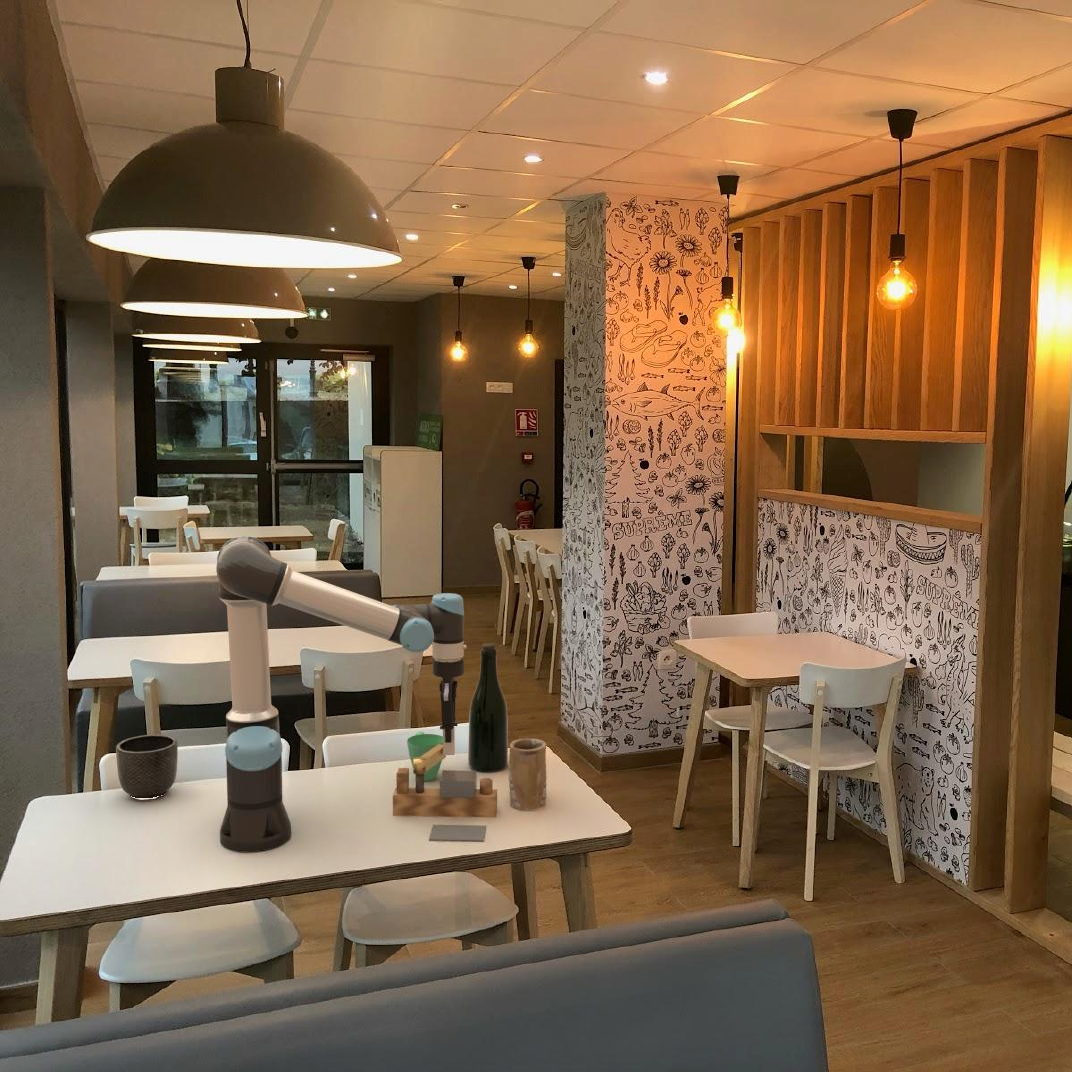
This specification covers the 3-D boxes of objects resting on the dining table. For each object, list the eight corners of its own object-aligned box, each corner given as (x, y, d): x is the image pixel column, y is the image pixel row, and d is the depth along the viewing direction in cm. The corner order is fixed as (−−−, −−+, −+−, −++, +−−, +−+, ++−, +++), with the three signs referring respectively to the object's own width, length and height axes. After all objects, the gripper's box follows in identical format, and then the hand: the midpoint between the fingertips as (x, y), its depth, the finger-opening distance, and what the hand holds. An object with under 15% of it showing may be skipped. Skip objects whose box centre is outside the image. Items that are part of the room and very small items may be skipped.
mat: (428, 840, 226) (428, 839, 226) (433, 826, 234) (433, 824, 234) (483, 841, 226) (483, 840, 226) (486, 827, 234) (486, 825, 234)
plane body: (392, 815, 240) (392, 774, 239) (395, 807, 244) (395, 767, 243) (496, 817, 240) (496, 775, 238) (497, 809, 244) (497, 768, 243)
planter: (143, 810, 241) (141, 756, 240) (105, 797, 249) (103, 745, 247) (191, 791, 253) (189, 740, 252) (153, 780, 261) (152, 730, 259)
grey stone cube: (439, 797, 238) (439, 780, 237) (442, 786, 245) (442, 770, 244) (474, 798, 238) (474, 781, 237) (476, 787, 245) (476, 770, 244)
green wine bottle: (467, 773, 268) (467, 648, 264) (468, 759, 279) (469, 639, 275) (507, 773, 269) (509, 648, 265) (507, 759, 279) (508, 639, 275)
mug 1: (449, 782, 262) (449, 744, 260) (411, 786, 259) (411, 747, 257) (436, 763, 275) (436, 726, 274) (400, 766, 272) (400, 730, 271)
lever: (422, 775, 239) (422, 761, 239) (411, 773, 240) (411, 760, 240) (447, 757, 252) (447, 744, 251) (436, 755, 253) (436, 742, 252)
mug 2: (520, 813, 242) (521, 751, 240) (494, 795, 253) (494, 736, 251) (553, 806, 247) (554, 745, 245) (525, 789, 257) (526, 730, 256)
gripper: (461, 665, 241) (461, 763, 243) (466, 652, 253) (466, 745, 256) (429, 664, 241) (430, 762, 243) (435, 652, 254) (436, 745, 256)
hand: (448, 754), depth 250 cm, fingers closed
